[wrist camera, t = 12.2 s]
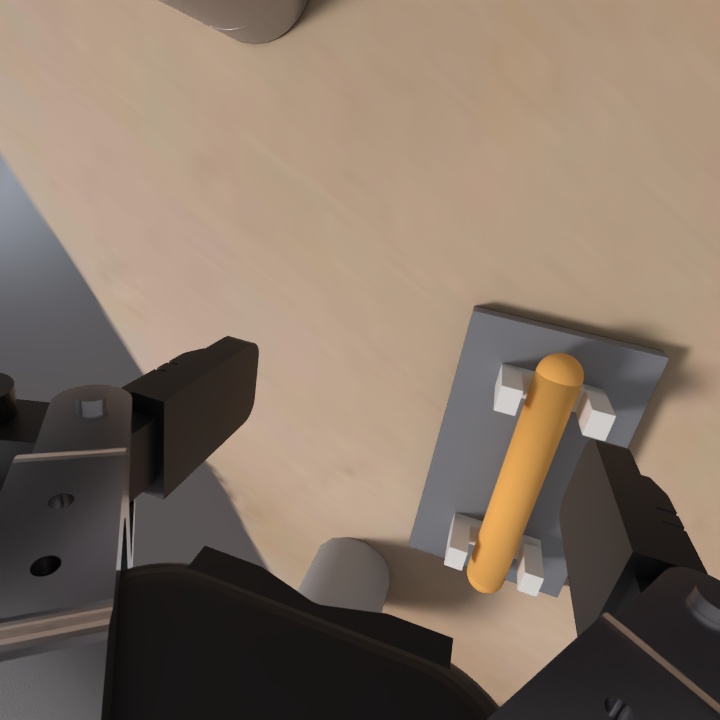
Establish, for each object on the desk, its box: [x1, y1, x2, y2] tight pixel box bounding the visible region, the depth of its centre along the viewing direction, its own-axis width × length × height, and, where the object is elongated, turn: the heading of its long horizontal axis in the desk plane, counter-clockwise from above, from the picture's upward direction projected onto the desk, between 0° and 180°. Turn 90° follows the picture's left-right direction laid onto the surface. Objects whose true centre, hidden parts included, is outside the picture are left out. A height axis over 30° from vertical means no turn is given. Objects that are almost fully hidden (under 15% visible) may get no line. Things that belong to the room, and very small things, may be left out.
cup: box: [298, 537, 390, 613], centre depth 47 cm, size 8×8×10 cm
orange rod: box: [467, 353, 584, 593], centre depth 38 cm, size 22×3×3 cm, turn 170°
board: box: [408, 306, 669, 597], centre depth 39 cm, size 14×24×6 cm, turn 170°
